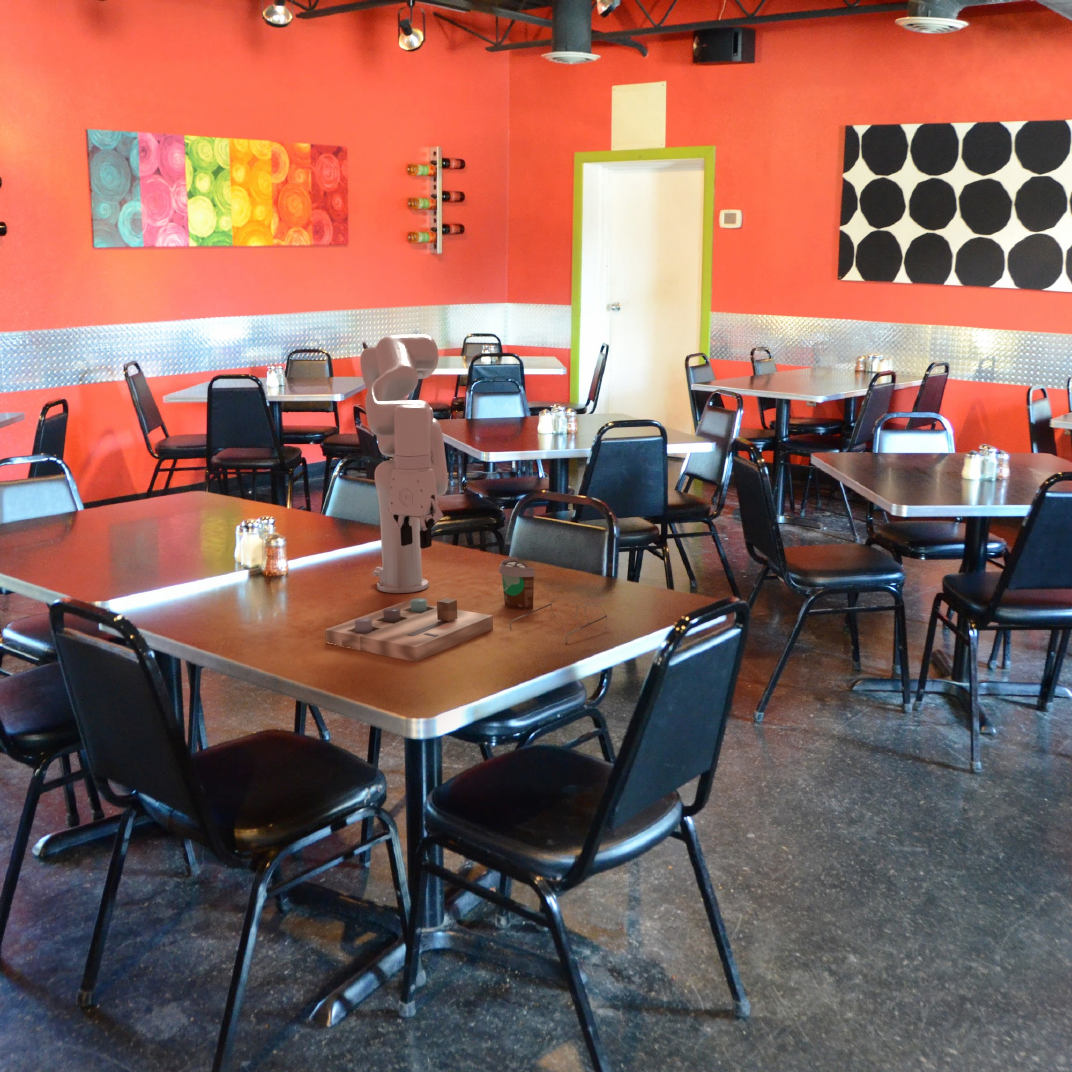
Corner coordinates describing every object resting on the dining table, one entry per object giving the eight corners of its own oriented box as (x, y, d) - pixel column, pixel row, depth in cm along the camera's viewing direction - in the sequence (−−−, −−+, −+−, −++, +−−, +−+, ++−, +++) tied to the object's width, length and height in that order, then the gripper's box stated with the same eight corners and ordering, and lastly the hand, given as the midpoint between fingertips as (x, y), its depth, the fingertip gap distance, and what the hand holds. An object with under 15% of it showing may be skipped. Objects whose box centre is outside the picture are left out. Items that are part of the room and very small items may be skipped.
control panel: (326, 643, 241) (325, 629, 241) (406, 613, 262) (405, 600, 262) (416, 661, 228) (415, 646, 228) (493, 629, 249) (492, 615, 249)
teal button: (407, 614, 254) (406, 601, 254) (417, 610, 257) (417, 597, 257) (420, 616, 252) (419, 603, 252) (430, 612, 255) (430, 599, 255)
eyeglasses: (611, 628, 250) (611, 606, 249) (566, 645, 239) (565, 621, 238) (554, 616, 260) (554, 594, 259) (509, 631, 249) (508, 608, 248)
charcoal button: (380, 624, 247) (379, 610, 246) (391, 620, 250) (390, 606, 249) (393, 626, 245) (392, 613, 245) (404, 622, 248) (403, 609, 247)
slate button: (351, 635, 240) (350, 621, 239) (363, 630, 243) (362, 617, 242) (364, 637, 238) (364, 623, 237) (376, 633, 241) (375, 619, 240)
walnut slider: (437, 619, 245) (436, 601, 244) (446, 616, 247) (445, 598, 247) (448, 621, 243) (448, 603, 243) (457, 618, 246) (456, 599, 245)
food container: (492, 600, 272) (491, 558, 270) (517, 597, 275) (516, 556, 272) (509, 613, 261) (508, 570, 259) (535, 610, 263) (534, 567, 261)
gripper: (371, 462, 250) (375, 545, 253) (433, 467, 240) (436, 553, 244) (394, 457, 256) (397, 539, 259) (455, 463, 246) (458, 547, 250)
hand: (416, 545), depth 252 cm, fingers open, 4 cm apart
